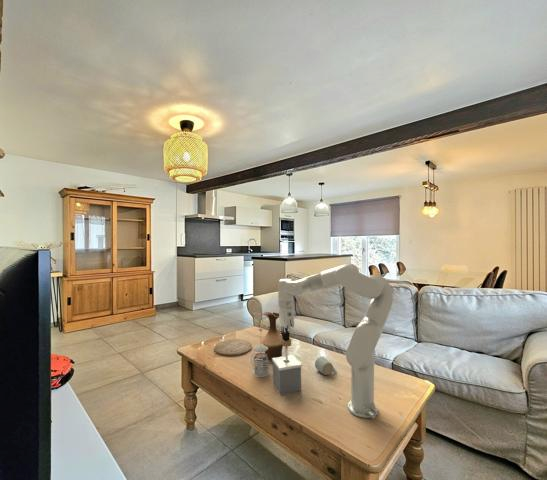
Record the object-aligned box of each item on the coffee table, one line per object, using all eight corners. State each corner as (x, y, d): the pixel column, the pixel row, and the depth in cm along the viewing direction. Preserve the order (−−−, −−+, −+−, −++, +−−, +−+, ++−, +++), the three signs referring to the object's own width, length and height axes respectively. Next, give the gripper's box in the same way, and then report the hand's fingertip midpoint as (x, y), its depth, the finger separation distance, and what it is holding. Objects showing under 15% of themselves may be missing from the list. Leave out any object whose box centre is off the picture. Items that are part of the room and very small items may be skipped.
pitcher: (289, 352, 186) (289, 309, 185) (284, 363, 170) (284, 317, 169) (264, 349, 191) (263, 307, 190) (256, 360, 174) (255, 315, 173)
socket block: (301, 390, 141) (301, 364, 140) (279, 395, 137) (279, 368, 137) (290, 375, 156) (289, 351, 155) (269, 379, 152) (269, 354, 152)
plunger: (293, 376, 143) (292, 340, 142) (283, 378, 141) (283, 342, 141) (289, 371, 147) (289, 337, 147) (280, 373, 146) (279, 338, 145)
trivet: (206, 351, 190) (206, 348, 190) (232, 339, 211) (232, 336, 211) (234, 360, 176) (234, 357, 176) (259, 346, 196) (259, 343, 196)
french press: (273, 372, 160) (273, 328, 159) (258, 380, 151) (258, 333, 150) (261, 366, 166) (260, 324, 166) (246, 374, 158) (245, 329, 157)
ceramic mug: (323, 377, 153) (323, 363, 153) (314, 370, 161) (314, 357, 161) (338, 373, 158) (339, 359, 158) (329, 367, 165) (330, 354, 165)
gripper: (298, 306, 137) (298, 344, 138) (287, 299, 152) (287, 333, 152) (284, 308, 135) (284, 346, 136) (274, 300, 149) (274, 335, 150)
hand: (285, 339), depth 144 cm, fingers closed
